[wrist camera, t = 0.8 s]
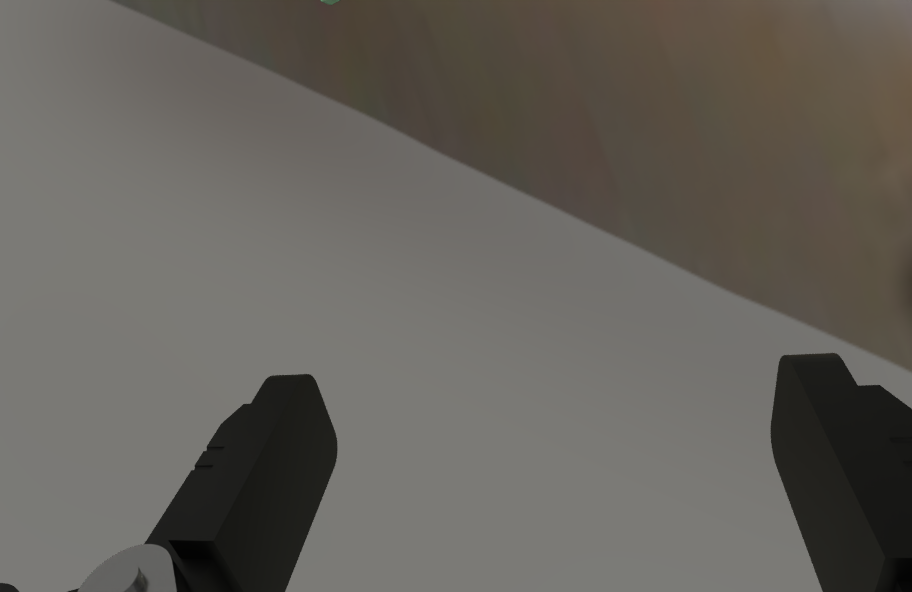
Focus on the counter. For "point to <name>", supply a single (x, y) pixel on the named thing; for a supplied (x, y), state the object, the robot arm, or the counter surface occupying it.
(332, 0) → the circuit board
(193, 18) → the counter surface
